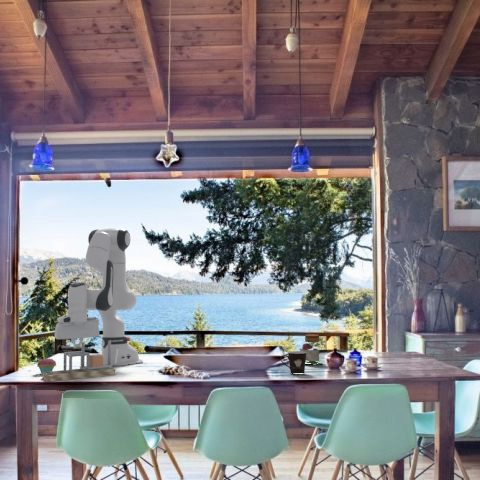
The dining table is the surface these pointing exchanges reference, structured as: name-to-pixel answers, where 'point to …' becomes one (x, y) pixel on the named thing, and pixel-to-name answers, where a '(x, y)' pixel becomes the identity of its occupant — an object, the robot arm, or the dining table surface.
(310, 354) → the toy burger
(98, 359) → the sled
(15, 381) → the dining table surface
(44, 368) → the cupcake
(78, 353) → the tunnel
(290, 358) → the coffee mug
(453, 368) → the dining table surface
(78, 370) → the board
